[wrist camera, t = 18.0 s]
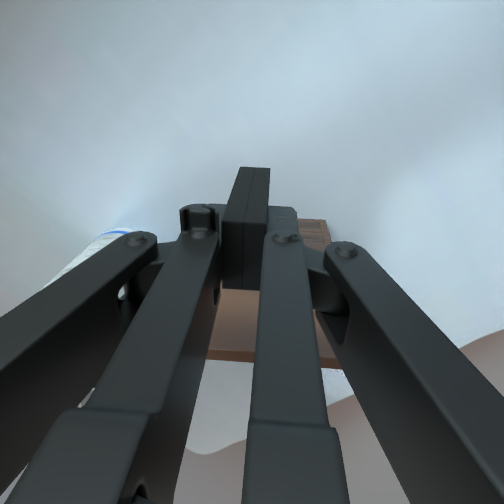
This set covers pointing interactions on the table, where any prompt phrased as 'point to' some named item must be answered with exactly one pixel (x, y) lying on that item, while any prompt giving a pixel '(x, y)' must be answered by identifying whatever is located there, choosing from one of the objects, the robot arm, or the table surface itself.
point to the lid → (252, 327)
